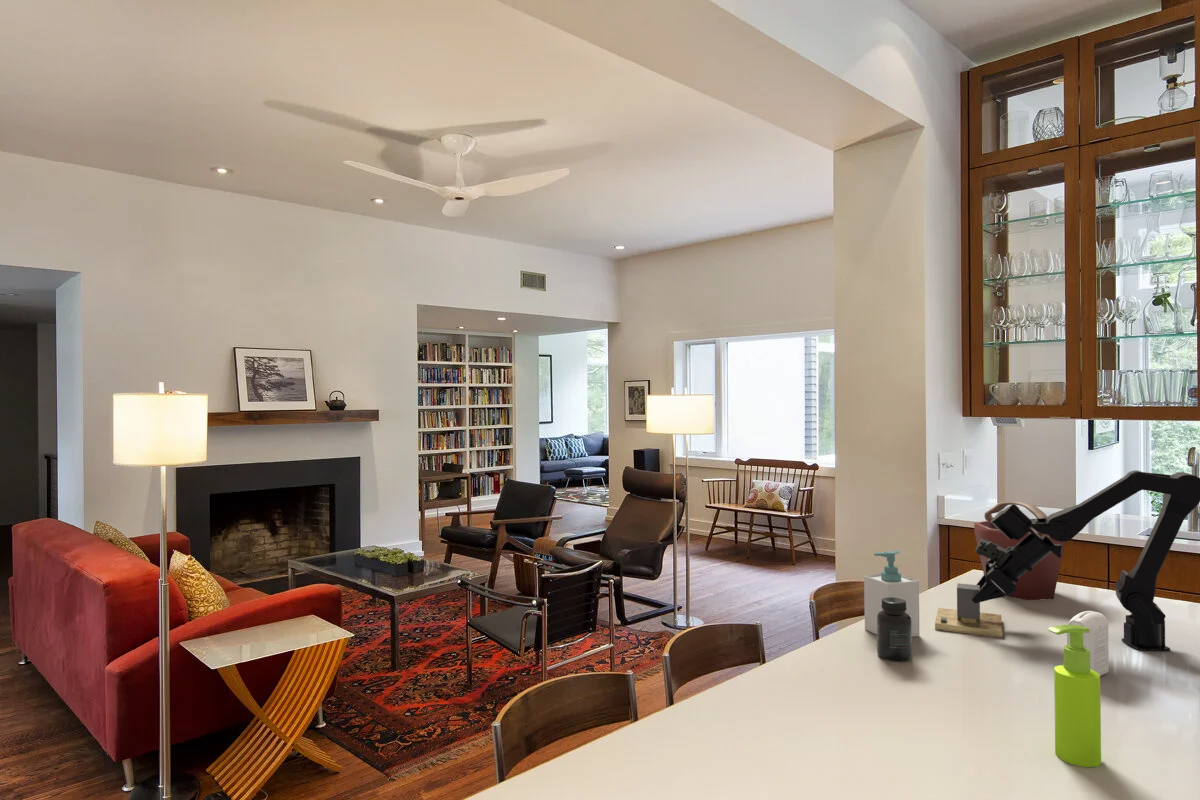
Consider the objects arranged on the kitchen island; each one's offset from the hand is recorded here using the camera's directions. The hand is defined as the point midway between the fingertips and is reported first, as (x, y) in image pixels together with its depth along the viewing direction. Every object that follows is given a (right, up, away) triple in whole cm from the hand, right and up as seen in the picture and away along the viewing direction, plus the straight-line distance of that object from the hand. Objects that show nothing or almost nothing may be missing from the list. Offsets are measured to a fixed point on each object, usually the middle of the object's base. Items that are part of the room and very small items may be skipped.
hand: (973, 596), depth 175 cm
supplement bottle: (-27, -8, -20) cm, 34 cm away
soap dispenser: (-17, -7, -64) cm, 67 cm away
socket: (-1, -7, +1) cm, 7 cm away
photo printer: (+7, -7, -31) cm, 33 cm away
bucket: (+29, -7, +30) cm, 42 cm away
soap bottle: (-21, -7, -4) cm, 23 cm away
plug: (-1, -7, +1) cm, 7 cm away
